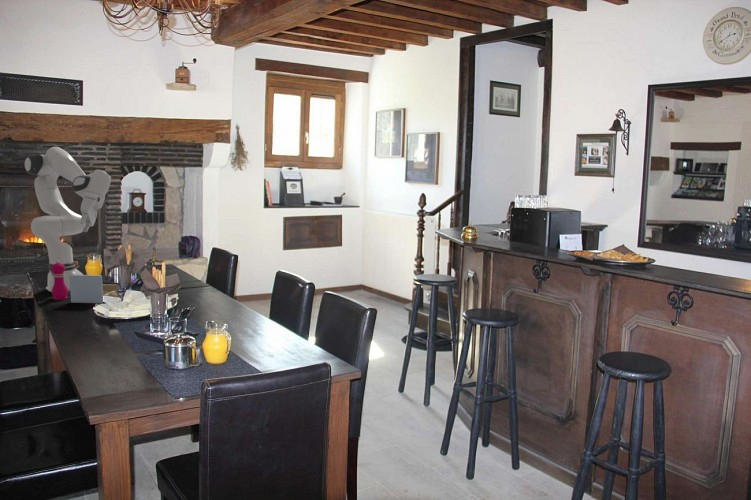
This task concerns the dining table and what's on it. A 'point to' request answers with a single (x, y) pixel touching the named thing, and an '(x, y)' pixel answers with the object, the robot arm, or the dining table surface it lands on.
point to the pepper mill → (59, 282)
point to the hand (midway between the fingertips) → (83, 227)
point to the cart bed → (110, 290)
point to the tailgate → (86, 288)
